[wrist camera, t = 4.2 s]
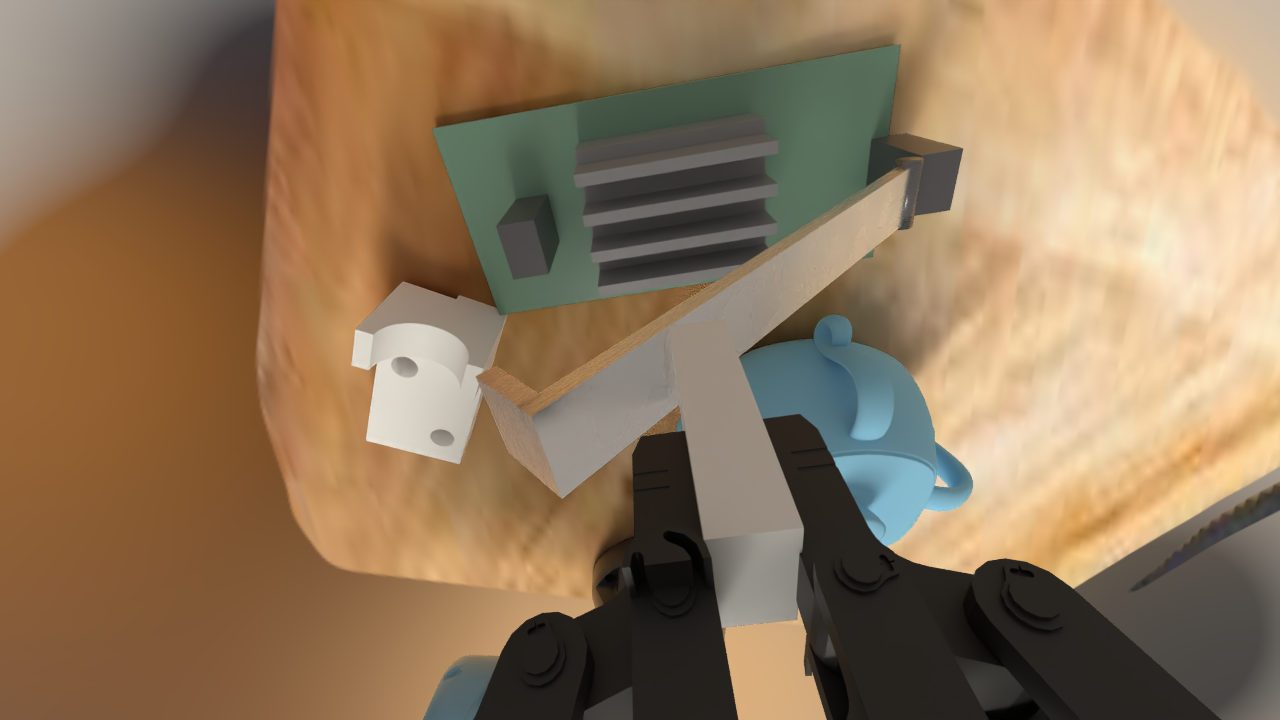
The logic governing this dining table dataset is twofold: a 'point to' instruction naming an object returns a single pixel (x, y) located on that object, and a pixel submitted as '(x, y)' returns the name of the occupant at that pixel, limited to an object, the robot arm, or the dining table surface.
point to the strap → (643, 364)
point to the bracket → (426, 368)
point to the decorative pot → (861, 423)
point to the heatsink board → (548, 158)
